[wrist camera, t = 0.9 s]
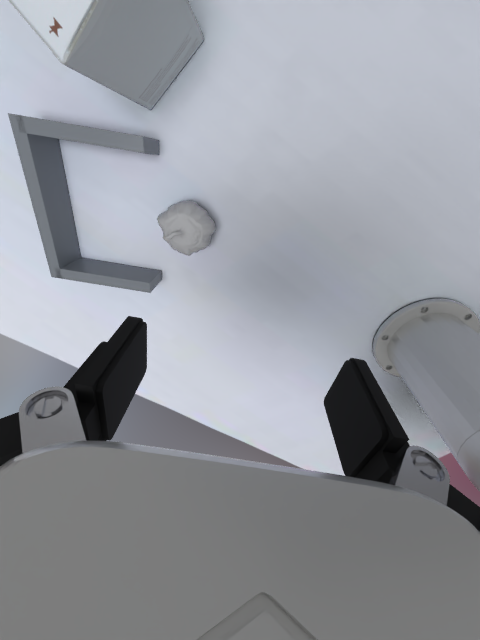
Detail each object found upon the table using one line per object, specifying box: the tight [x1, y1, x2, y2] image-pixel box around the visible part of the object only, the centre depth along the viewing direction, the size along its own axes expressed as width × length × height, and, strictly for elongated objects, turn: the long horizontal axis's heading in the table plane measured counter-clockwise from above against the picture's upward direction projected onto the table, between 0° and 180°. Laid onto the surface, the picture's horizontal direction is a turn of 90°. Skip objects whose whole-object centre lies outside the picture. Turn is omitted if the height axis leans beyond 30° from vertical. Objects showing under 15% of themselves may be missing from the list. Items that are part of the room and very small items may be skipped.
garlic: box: [157, 201, 216, 256], centre depth 27 cm, size 6×5×5 cm
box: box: [8, 113, 162, 293], centre depth 27 cm, size 11×15×4 cm
